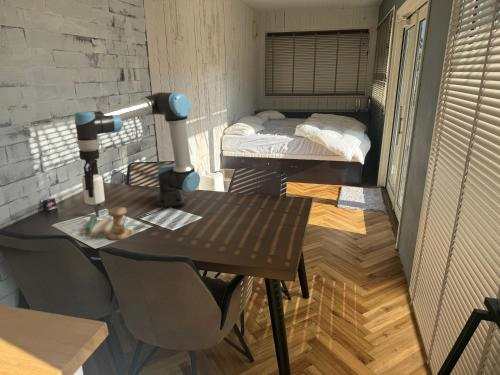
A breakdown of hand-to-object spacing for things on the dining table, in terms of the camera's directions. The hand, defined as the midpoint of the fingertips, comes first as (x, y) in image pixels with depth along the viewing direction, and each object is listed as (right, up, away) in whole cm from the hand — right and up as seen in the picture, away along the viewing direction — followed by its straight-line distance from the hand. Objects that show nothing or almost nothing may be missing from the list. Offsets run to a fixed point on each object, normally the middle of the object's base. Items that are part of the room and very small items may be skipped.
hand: (94, 200), depth 152 cm
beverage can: (0, -1, 0) cm, 1 cm away
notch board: (-4, -14, +21) cm, 26 cm away
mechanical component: (-14, -10, +35) cm, 39 cm away
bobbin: (+6, -17, +13) cm, 22 cm away
